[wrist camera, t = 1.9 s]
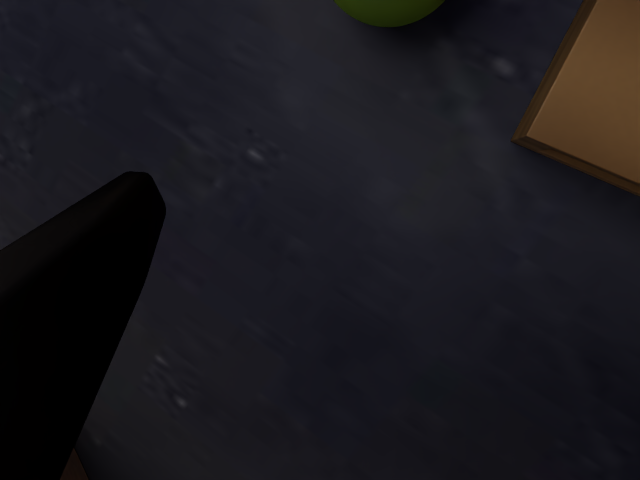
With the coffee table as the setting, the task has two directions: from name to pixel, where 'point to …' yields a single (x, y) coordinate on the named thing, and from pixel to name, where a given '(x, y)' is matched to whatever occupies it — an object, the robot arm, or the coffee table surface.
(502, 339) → the coffee table surface
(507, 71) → the coffee table surface
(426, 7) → the snail figurine
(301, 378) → the coffee table surface
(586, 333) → the coffee table surface
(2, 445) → the robot arm
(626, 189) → the tan rectangular block
